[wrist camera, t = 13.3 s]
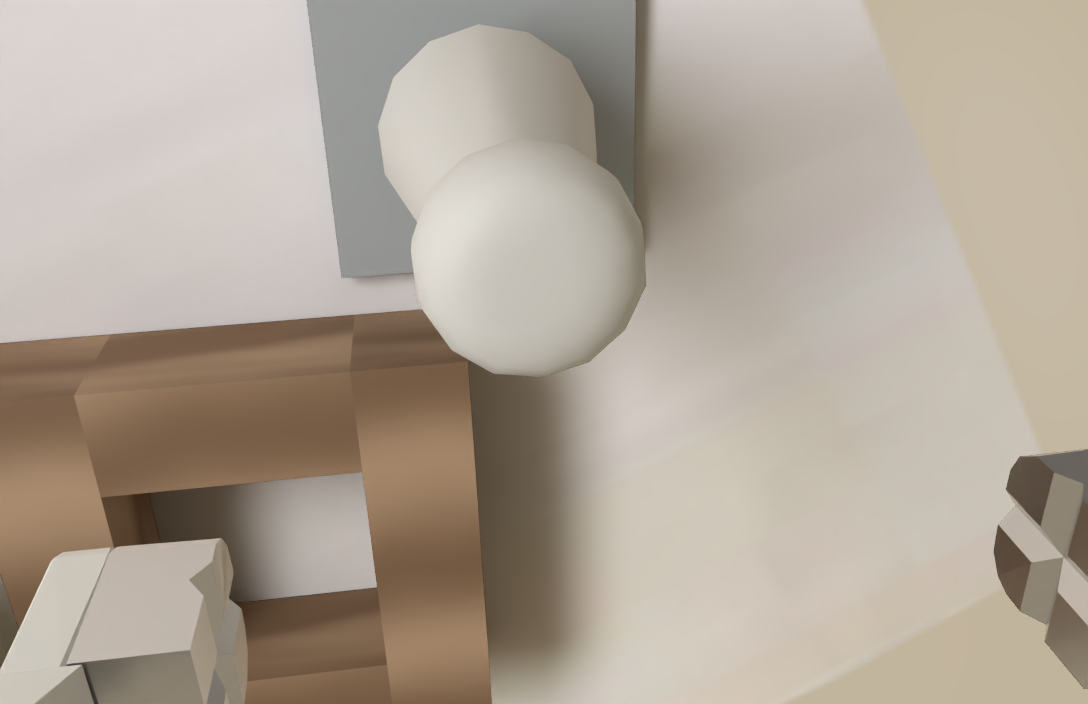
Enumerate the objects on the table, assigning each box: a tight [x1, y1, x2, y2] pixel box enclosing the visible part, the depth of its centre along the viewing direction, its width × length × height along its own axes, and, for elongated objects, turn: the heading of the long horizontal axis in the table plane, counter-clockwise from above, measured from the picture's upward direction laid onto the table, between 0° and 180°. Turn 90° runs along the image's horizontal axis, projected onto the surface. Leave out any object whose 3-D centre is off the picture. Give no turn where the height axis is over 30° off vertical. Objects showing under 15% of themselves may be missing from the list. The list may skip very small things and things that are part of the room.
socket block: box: [0, 310, 492, 704], centre depth 33 cm, size 14×14×4 cm
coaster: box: [307, 0, 636, 278], centre depth 29 cm, size 9×9×1 cm
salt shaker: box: [378, 24, 646, 377], centre depth 23 cm, size 6×6×13 cm
